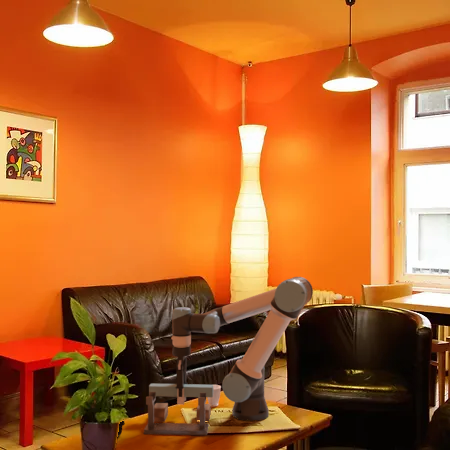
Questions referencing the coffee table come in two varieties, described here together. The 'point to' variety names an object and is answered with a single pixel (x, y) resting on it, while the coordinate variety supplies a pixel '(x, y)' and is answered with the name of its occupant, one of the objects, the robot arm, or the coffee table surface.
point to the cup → (215, 396)
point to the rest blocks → (162, 412)
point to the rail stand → (176, 427)
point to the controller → (120, 428)
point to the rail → (189, 390)
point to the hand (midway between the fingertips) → (181, 402)
